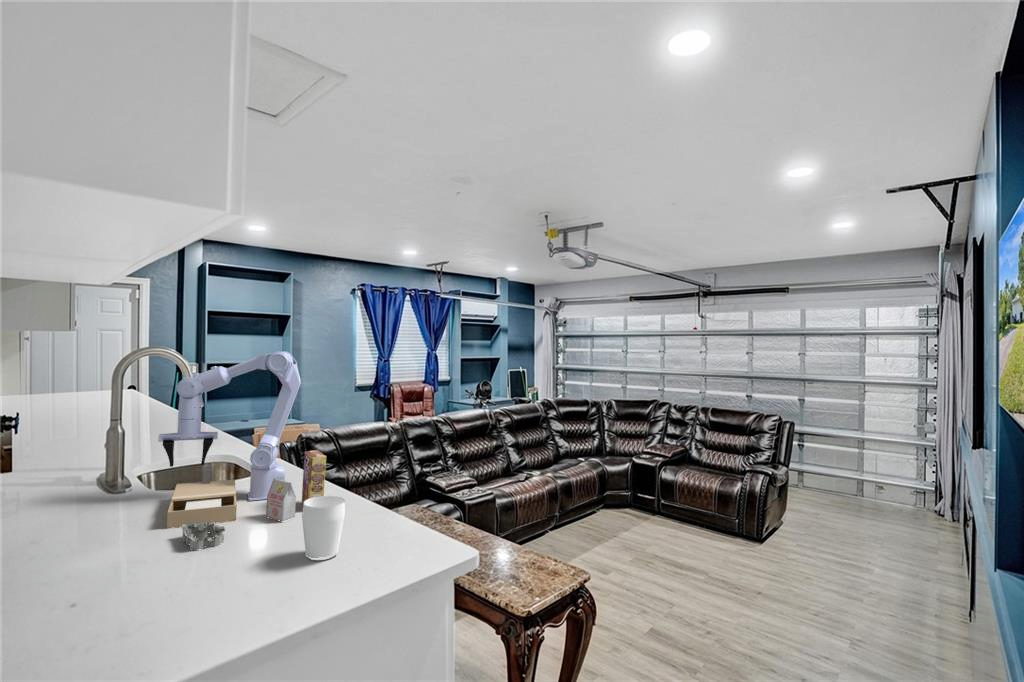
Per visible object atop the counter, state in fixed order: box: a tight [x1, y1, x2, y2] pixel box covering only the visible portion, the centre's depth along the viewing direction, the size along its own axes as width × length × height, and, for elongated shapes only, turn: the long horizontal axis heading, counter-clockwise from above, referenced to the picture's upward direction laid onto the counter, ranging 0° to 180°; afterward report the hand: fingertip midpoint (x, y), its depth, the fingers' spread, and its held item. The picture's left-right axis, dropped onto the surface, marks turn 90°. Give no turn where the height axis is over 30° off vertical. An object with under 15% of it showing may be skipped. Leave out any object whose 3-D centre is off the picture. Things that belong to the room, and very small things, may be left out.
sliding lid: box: [170, 467, 237, 503], centre depth 144 cm, size 15×16×4 cm
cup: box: [301, 495, 346, 558], centre depth 114 cm, size 9×9×12 cm
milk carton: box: [265, 479, 297, 521], centre depth 136 cm, size 4×7×10 cm, turn 61°
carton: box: [166, 495, 237, 529], centre depth 136 cm, size 15×16×4 cm
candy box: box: [301, 450, 327, 505], centre depth 147 cm, size 9×4×15 cm, turn 35°
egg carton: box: [181, 522, 226, 551], centre depth 119 cm, size 11×8×4 cm
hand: (187, 464), depth 148 cm, fingers open, 7 cm apart
